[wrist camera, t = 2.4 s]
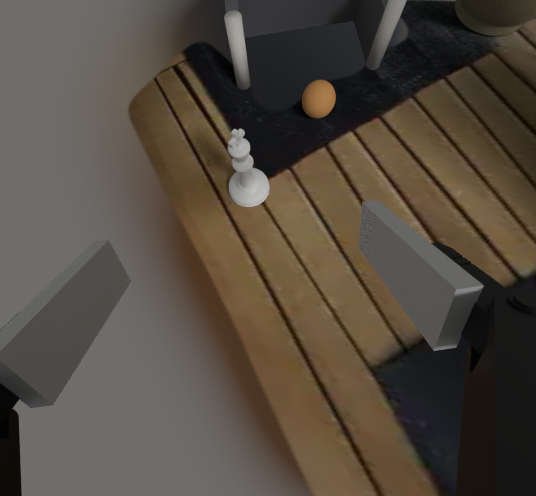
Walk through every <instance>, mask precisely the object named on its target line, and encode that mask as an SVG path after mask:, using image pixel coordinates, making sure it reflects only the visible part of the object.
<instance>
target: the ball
mask: <svg viewBox="0 0 536 496" xmlns="http://www.w3.org/2000/svg"><path fill="white" fill-rule="evenodd" d="M335 99H336V95H335V91H334V88H333V86H332V85H331V84H330V83H329V82H327V81H325V80H316V81H314V82H312V83H310V84H309V85H308V86H307V87H306V89H305V91H304V93H303V96H302V106H303V109H304V111H305V113H306V114H307V115H308V116H310V117H312V118H322V117H324V116H326V115H327V114H329V113H330V111H331V110H332V108H333V107H334V104H335Z"/></svg>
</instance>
